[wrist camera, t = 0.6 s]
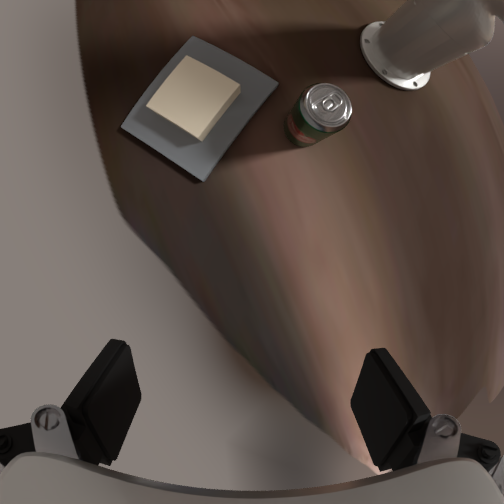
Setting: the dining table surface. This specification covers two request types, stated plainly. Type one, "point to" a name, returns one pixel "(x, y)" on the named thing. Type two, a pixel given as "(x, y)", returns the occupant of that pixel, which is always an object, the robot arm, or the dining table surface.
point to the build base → (221, 131)
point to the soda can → (317, 114)
